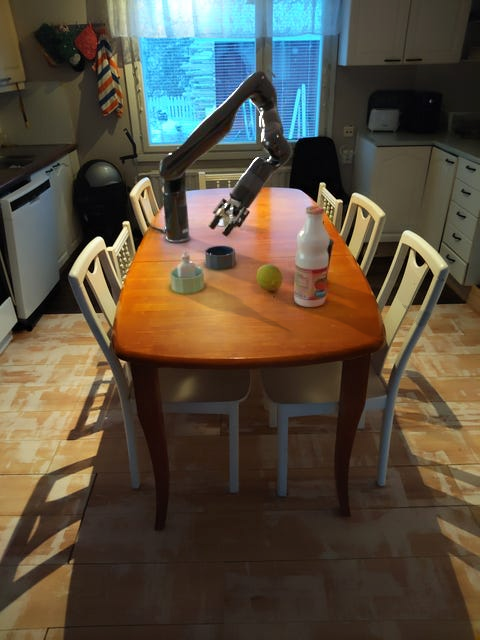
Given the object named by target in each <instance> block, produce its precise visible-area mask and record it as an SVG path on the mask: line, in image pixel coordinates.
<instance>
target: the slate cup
mask: <svg viewBox="0 0 480 640" xmlns="http://www.w3.org/2000/svg"><path fill="white" fill-rule="evenodd" d="M235 250H236V249H235V248H234V247H232V246H229V245H213V246H210V247H207V248H206V249H204V256H205V257H204V258H205V259H204V260H205V267H206V268H209V269H210V270H217V271H220V270H221V271H222V270H227V269H230V268H233V267H234V266H236V251H235Z"/></svg>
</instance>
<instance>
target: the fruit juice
mask: <svg viewBox="0 0 480 640" xmlns="http://www.w3.org/2000/svg"><path fill="white" fill-rule="evenodd" d="M324 214H325V208H324V207H323V206H319V205H310V206H307V207H306V208H305V216H306V219H305V222H304V225H303V227H302V228H301V229H300V230H299V232H298V233H297V236H296V246H297V251H296V253H295V260H294V263H295V264H294V288H293V299H294V302H295V304H297V305H299V306H302V307H306V308H315V307H319V306H320V307H321V306H322V305H324V304H325V302H326V300H327V299H326V298H327V288H328V287H327V286H328V273H329V269H328V263H329V255H328V252H327V248H328V246H329V242H330V239H331V238H330V234H329V233H328V231H327V230H326V228H325V224H324V225H323V221H324V220H323V215H324ZM329 264H330V263H329Z"/></svg>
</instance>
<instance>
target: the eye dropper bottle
mask: <svg viewBox="0 0 480 640" xmlns="http://www.w3.org/2000/svg"><path fill="white" fill-rule="evenodd" d="M190 256H191V255H190V254H188V252H187V250H184V251H183V254H182V255H181V262H180V263H179V264H178V266H177V268H178V278H183V279H184V278H193V277H196V269H195V267H196V263H195V262H193V261H191V257H190Z"/></svg>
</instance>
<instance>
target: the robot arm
mask: <svg viewBox="0 0 480 640" xmlns="http://www.w3.org/2000/svg"><path fill="white" fill-rule="evenodd" d="M247 100H250V102H251V103H252V104H253V105H254V107H256V109H257V110H258V112H259V113H260V116H259V128H260V131H261V140H260V141H261V145H262V147H263V149H264V151H265V152H266V153H267V154H268V156H269V159H267V160H266V159H265V158H263V157H260V156H259V157H256V158H255V159H254V160H253V161H252V162H251V164H250V165H249V167H248V168H247V170H246V171H245V172H244V173H243V174H242V175H241V176H240V178H239V179H238V181H237V182H236V184H235V185H234V186H233V187H232V189H231V191H230V192H229V197H230V198H229V199H228V200H227V199H225V198H222V199H221V200H220V202H219V203H218V204H217V205H216V207H215V208H214V209H213V210H212V214H213V218H212V219H211V221H210V222H209V224H208V227H209V229H211V230H212V231H213V230H215V229H216V227H217V226H218V223H219V222H220V220H221V219H223V218H224V217H225V218H226V217H230V220H229V223H230V224H229V223H228V224H227V225H226V226H224V228H223V230H222V231H221V234H222V235H223V236H224V237H228V236H229V235H230V234H231V232H233V230H234V229H235V228H237V227H238V228H241V227H242V225H243V224H244V222H245V221H246V219H247V218H248V216H249V215H250V213H251V212H250V210H249V208H250V207H251V206H252V204H253V203H254V201H255V200H256V199H257V197H258V195H260V193H261V191H262V189H263V187H264V186H265V185H266V183H267V182H268V181H269V179H270V177H271V176H272V175H273V174H274V173H275V172H276V171H278V170H279V169H280V168H281V167H283V166H284V165H285V164H286V163H287V162H288V161H289V160H290V158H291V157H292V154H293V146H292V145H291V144H290V142H289V141H288V139H287V138H286V137H285V135H284V126H283V123H282V119H281V117H280V113H279V107H278V93H277V89H276V87H275V85H274V83H273V82H272V81H271V79H270V78H269V76H268V75H267V74H266V72H265V71H264V70H257V71H254V72H253V73H252V74H251V75H249V76H248V77H247V78H246V79H245V80H244V81H243V82H242V83H241V84H240V85H239V87H238V88H236V90H235V91H234V92H233V93H232V94H231V95H230V96H229V97H228V98H227V99H226V100H225V101H224V102H223V103H222V104H221V105H219V107H218V108H216V110H214V111H213V112H212V113H210V115H209V116H207V117H206V118H205V119H203V121H202V122H201V123H199V125H197V127H196V128H194V130H193V131H192V133H191V134H189V136H188V137H187V139H186V140H185V141H184V142H183V143H182V144H181V145H180V146H178V147H177V148H176V149H174V151H172V152H169V153H167V154H165V155H164V156H162V158H161V160H160V161H159V164H158V173H159V176H160V177H161V181H162V182H161V183H162V189H161V190H162V191H161V192H162V193H161V195H162V203H163V212H164V216H163V217H164V225H165V226H164V227H163V228H164V230H162V229H161V228H158V227H155V226H153V225H151V222H150V221H148V220H147V221H146V222H145V225H148V226H149V228H150V229H153V230H156V231H159V232H161V233H163V234H165V236H166V241H167V242H168V243H176V244H177V243H179V244H180V243H185V242H187V241H189V240H190V239H191V236H190V225H189V212H188V211H189V210H188V199H187V177H186V176H187V175H186V171H187V170H188V169H189V168H191V166H192V165H193V164H194V163H195V162H196V161H197V160H199V159H200V158H201V157H203V156H204V155H205V154H208V153H209V152H210V151H211V150H213V149H214V148H215V147H216V146H218V144H219V143H221V142H222V141H223V140H224V139H225V138H226V137H227V136H228V135H229V134H230V132H231V130H232V128H233V125H234V123H235V119H236V117H237V114H238V112H239V110H240V108H241V107H242V106H243V104H244V103H245V102H247ZM238 221H239V222H238Z"/></svg>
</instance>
